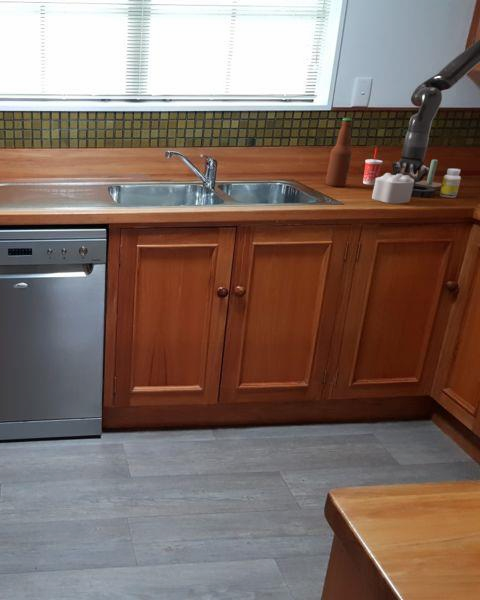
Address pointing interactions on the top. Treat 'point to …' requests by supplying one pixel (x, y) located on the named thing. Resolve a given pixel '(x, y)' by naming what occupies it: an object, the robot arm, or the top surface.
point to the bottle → (340, 157)
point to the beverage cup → (371, 170)
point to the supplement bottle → (450, 183)
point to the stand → (431, 177)
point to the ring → (423, 191)
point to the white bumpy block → (393, 188)
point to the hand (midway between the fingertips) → (404, 191)
